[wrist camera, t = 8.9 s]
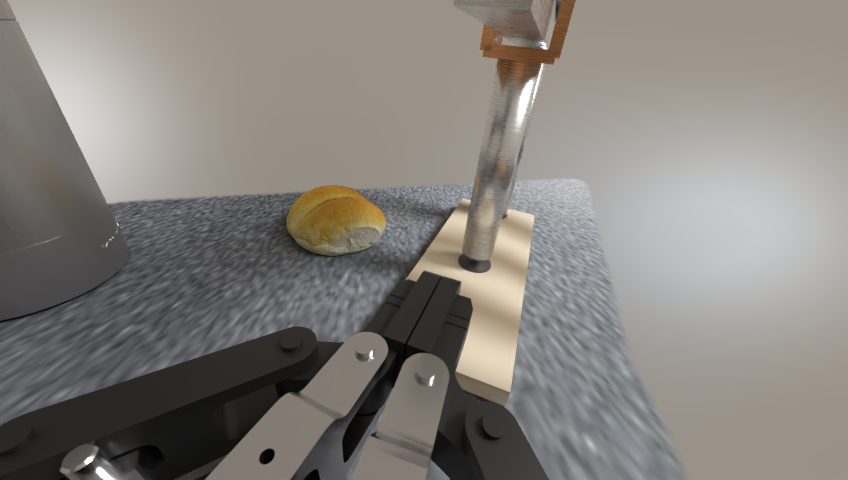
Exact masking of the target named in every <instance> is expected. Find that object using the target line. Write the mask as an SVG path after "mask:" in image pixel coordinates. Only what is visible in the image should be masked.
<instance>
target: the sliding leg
mask: <svg viewBox="0 0 848 480" xmlns="http://www.w3.org/2000/svg"><path fill="white" fill-rule="evenodd" d="M574 4H575V0H561V4H560V8H559V12H558V16H557V20H556V23H555V27H554V31H553V35H552V39H551V42H550V46H549V49H538V48H528V47H517V46H507V45H501V44H502V38H503V36H502V35H500V34H499V33H497V32H496V31H494V30H492V29H491V28H489V27H488V26H486V25H484V28H483V33H482V39H481V46H480V50H483V57H487V58H494V59H498V61H497V65H496V71H495V76H494V82H493V86H492V92H491V97H490V102H489V108H488V113H487V119H486V124H485V129H484V134H483V140H482V144H481V150H480V155H479V160H478V165H477V171H476V176H475V181H474V186H473V191H472V197H471V202H470V207H469V212H468V218H467V223H466V228H465V233H464V239H463V244H462V252H463V254H464V255H466V256H467V257H469V259H470V260H471V261H472V262H476V263H478V262H481V261H482V260H488V259H490V258H491V257H492V255H493V251H494V248H495V244H496V240H497V236H498V232H499V228H500V224H501V220H502V216H503V213H504V209H505V205H506V201H507V197H508V193H509V189H510V185H511V182H512V178H513V174H514V170H515V166H516V162H517V158H518V154H519V150H520V147H521V143H522V139H523V135H524V131H525V127H526V123H527V119H528V116H529V112H530V108H531V104H532V100H533V96H534V92H535V88H536V84H537V81H538V77H539V73H540V69H541V65H542V64H549V65H554V61H555V59H559V57H560V54H561V50H562V47H563V43H564V40H565V36H566V33H567V29H568V26H569V22H570V18H571V15H572V11H573V8H574Z"/></svg>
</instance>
